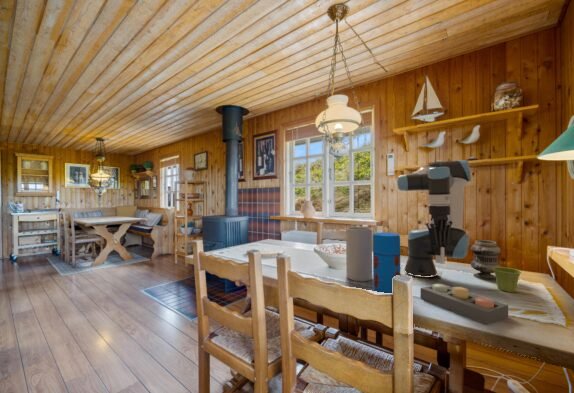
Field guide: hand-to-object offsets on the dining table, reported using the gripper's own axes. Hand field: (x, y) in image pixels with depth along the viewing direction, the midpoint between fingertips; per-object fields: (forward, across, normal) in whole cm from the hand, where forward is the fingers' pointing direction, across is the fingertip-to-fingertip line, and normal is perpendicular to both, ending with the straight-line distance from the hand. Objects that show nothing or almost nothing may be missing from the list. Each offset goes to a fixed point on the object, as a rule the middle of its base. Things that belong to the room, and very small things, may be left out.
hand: (440, 262), depth 105 cm
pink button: (+12, -3, -18) cm, 22 cm away
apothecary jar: (+15, +43, +6) cm, 46 cm away
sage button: (+13, -3, -2) cm, 13 cm away
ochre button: (+11, -3, -10) cm, 15 cm away
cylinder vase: (+14, -14, +33) cm, 39 cm away
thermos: (+14, -17, +12) cm, 25 cm away
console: (+14, -3, -10) cm, 17 cm away
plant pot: (+15, +32, -8) cm, 36 cm away
